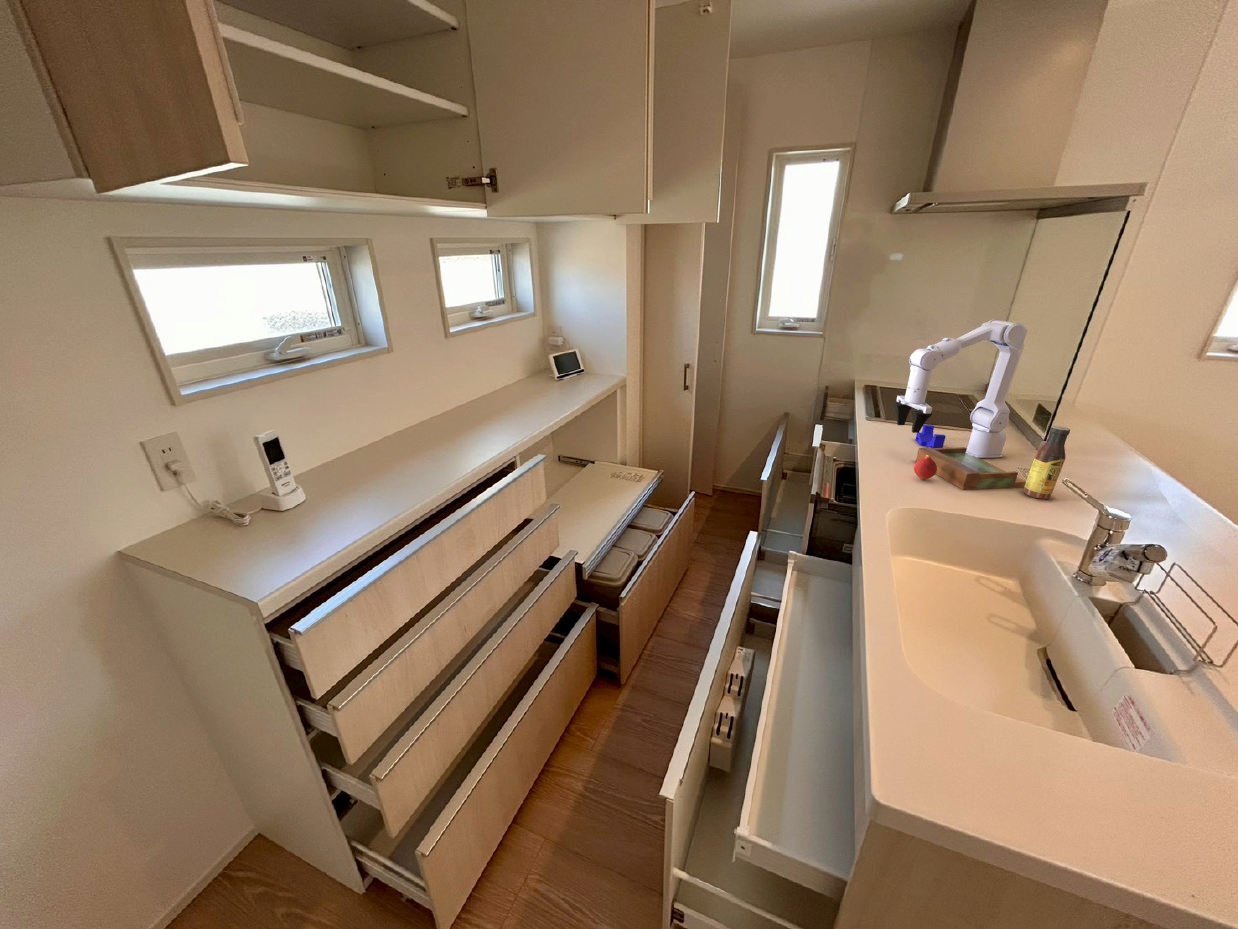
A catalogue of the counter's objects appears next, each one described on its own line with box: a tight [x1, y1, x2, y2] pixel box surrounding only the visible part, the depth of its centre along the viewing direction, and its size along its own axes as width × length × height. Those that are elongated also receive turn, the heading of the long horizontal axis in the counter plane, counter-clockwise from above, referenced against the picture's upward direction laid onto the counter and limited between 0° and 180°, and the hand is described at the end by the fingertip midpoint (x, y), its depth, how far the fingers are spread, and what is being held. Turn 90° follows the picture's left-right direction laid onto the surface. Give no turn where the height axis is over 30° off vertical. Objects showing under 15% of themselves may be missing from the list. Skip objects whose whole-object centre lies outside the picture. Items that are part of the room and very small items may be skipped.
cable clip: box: [914, 424, 947, 448], centre depth 175 cm, size 12×4×6 cm, turn 168°
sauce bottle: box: [1023, 425, 1071, 500], centre depth 136 cm, size 7×6×20 cm
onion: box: [913, 455, 937, 481], centre depth 148 cm, size 6×6×8 cm
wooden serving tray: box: [915, 446, 1026, 490], centre depth 153 cm, size 20×21×5 cm
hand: (907, 428), depth 162 cm, fingers open, 7 cm apart
